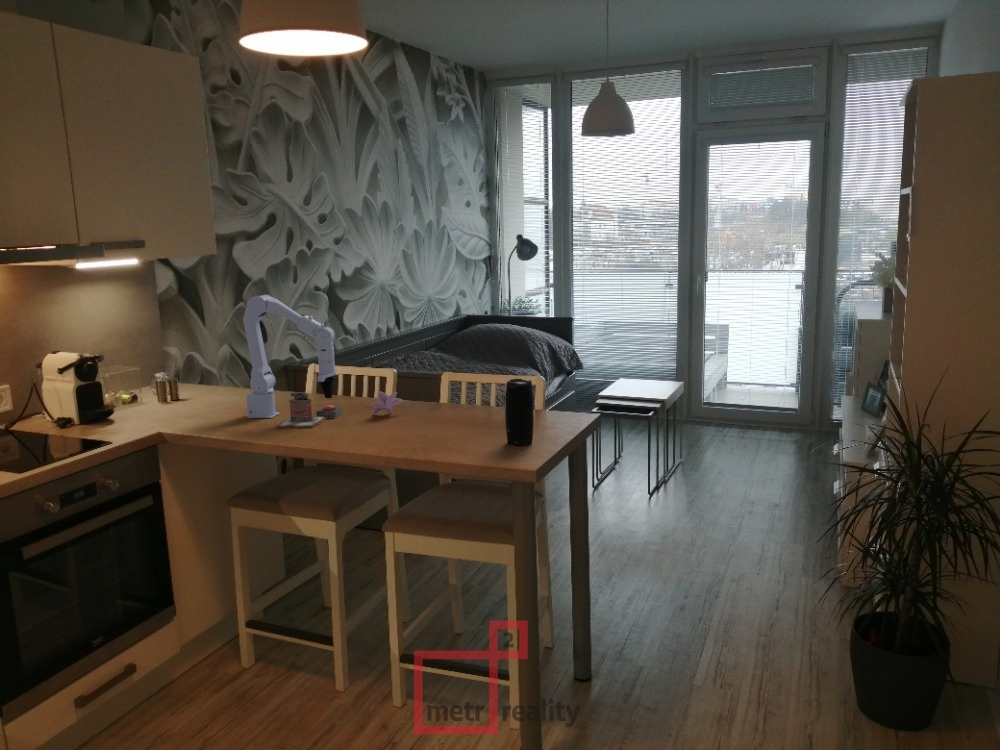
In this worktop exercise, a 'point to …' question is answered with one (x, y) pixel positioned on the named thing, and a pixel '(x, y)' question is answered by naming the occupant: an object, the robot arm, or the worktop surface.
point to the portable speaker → (519, 411)
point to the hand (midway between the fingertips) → (328, 397)
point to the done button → (329, 407)
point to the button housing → (330, 412)
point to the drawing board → (302, 424)
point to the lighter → (300, 407)
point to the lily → (385, 402)
